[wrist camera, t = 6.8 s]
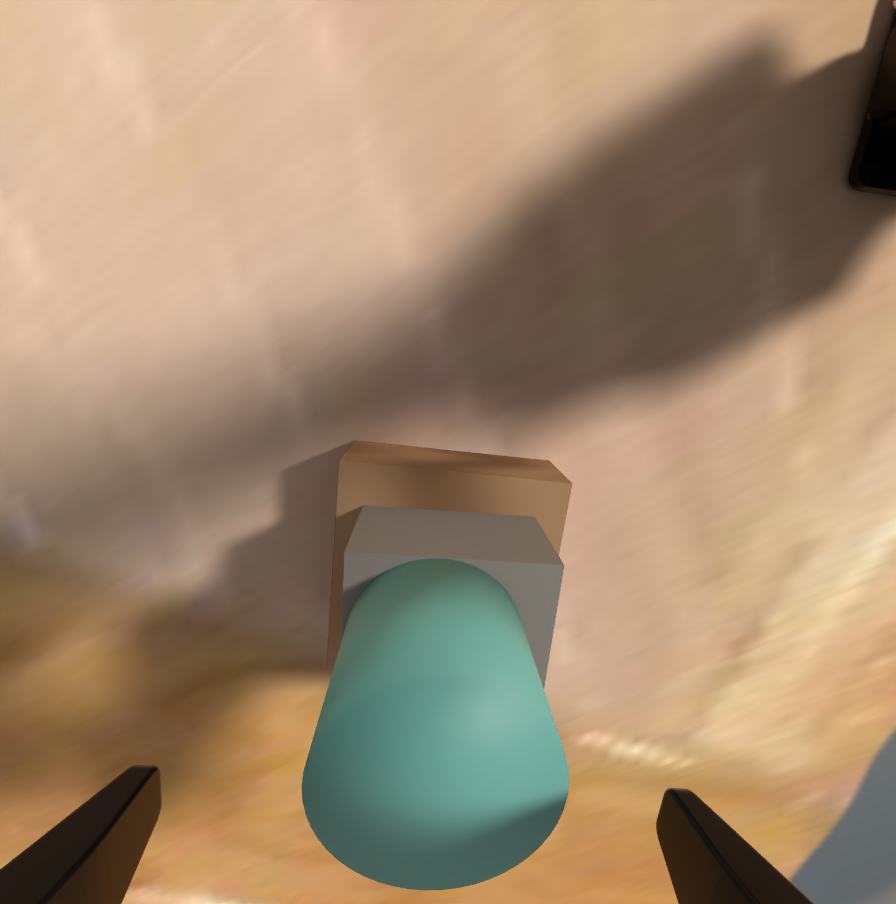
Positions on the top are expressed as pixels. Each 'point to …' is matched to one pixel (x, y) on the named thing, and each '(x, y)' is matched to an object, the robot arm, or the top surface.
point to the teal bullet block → (434, 734)
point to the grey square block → (462, 559)
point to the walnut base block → (439, 495)
